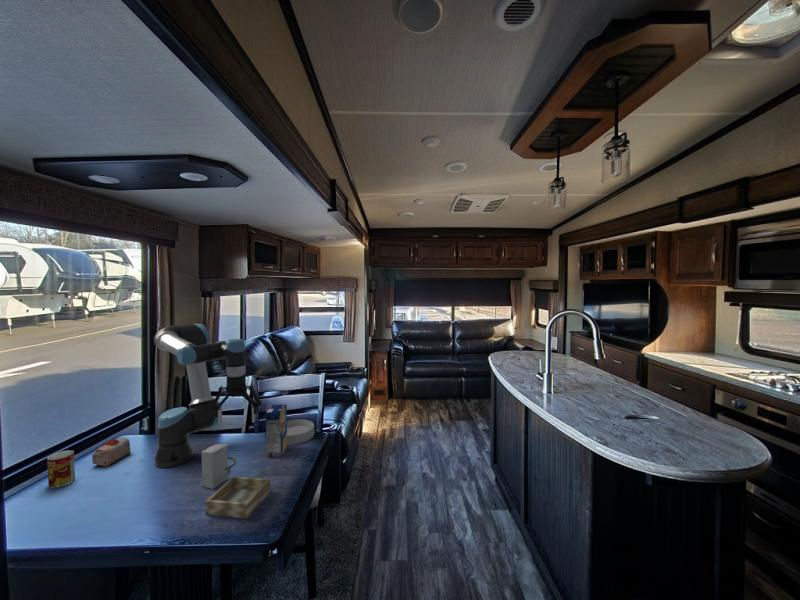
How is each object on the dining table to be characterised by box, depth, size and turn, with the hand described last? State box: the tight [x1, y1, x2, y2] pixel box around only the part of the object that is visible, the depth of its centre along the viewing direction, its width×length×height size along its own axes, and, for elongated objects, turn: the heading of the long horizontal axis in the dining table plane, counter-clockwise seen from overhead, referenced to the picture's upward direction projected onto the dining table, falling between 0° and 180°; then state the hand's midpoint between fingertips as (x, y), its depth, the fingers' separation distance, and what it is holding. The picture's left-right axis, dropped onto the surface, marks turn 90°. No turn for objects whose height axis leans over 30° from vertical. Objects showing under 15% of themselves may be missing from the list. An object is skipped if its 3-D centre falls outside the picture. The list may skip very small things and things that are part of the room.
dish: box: [287, 418, 315, 446], centre depth 187 cm, size 22×22×5 cm
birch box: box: [205, 476, 271, 519], centre depth 129 cm, size 16×16×5 cm
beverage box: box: [265, 403, 288, 459], centre depth 168 cm, size 7×11×22 cm, turn 4°
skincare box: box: [201, 443, 229, 490], centre depth 142 cm, size 8×6×15 cm
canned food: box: [46, 449, 76, 488], centre depth 142 cm, size 8×8×12 cm
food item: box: [91, 437, 132, 467], centre depth 160 cm, size 14×8×10 cm, turn 176°
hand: (236, 422), depth 149 cm, fingers open, 13 cm apart
